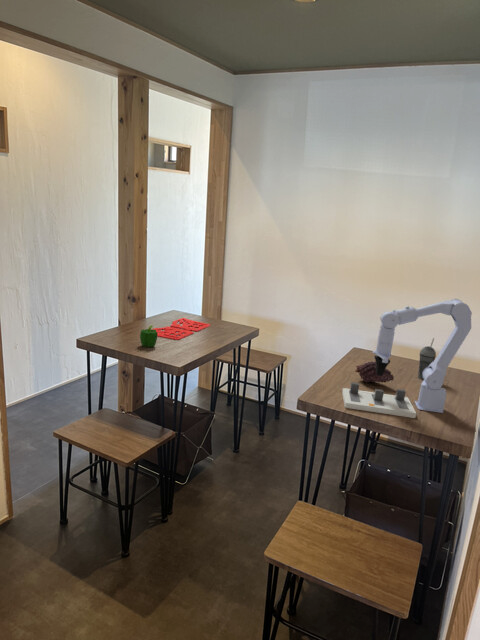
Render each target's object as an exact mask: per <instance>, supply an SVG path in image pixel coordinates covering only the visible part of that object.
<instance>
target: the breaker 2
mask: <svg viewBox="0 0 480 640" xmlns="http://www.w3.org/2000/svg"><path fill="white" fill-rule="evenodd" d="M406 393H407V391H406V390H405V389H401V388H396V392H395V396H396V397H395V398H396V400H403V401H404V398H405V397H406Z"/></svg>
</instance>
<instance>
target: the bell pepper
mask: <svg viewBox="0 0 480 640" xmlns="http://www.w3.org/2000/svg"><path fill="white" fill-rule="evenodd" d="M153 327H154V326H153V325H152V324H151V325H149V326H148V328H145V329H141V330H140V334H139V338H140V344H141V346H142V347H146V348H154V347H155V346H156V343H157V340H158V337H157V335H158V334H157V332H156V330H155V329H154V328H153ZM151 329H153V330H151Z"/></svg>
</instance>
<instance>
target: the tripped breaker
mask: <svg viewBox="0 0 480 640" xmlns="http://www.w3.org/2000/svg"><path fill="white" fill-rule="evenodd" d="M383 394H385V391H384V390H383V389H379V388H378V389H377V388H375V389H374V400H378V401H382V399H383Z"/></svg>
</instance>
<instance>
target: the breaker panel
mask: <svg viewBox="0 0 480 640" xmlns="http://www.w3.org/2000/svg"><path fill="white" fill-rule="evenodd" d="M341 392H342V399H343V403H344V404H343V405H344V409H351V410H358V411H359V410H360V411H364V412H371V413H377V414H378V413H379V414H385V415H391V416H399V417H404V418H405V417H406V418H412V419H416V418H417V417H416V416H417V412H416V410H415V408H414V406H413V404H412V403H411V401H410V399H409V397H408V396H405V398H404V401H403V400H396V398H395V397H396V394H395V395H393V394H386V393H384V394H383V399H382V401H378V400H374V393H375V391H374V392H373V391H366V390H358V394H355V393H350V388H347V387H346V388H344V387H342V391H341Z"/></svg>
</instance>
